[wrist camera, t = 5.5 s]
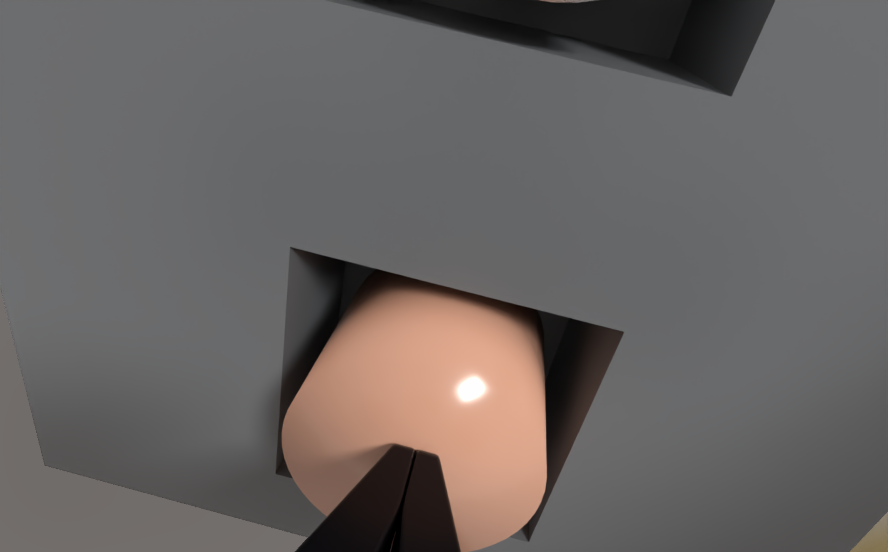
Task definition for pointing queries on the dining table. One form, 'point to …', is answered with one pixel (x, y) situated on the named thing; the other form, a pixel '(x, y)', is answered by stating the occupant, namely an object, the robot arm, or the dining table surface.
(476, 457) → the terracotta plunger
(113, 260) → the block
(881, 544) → the dining table surface
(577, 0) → the grey plunger
